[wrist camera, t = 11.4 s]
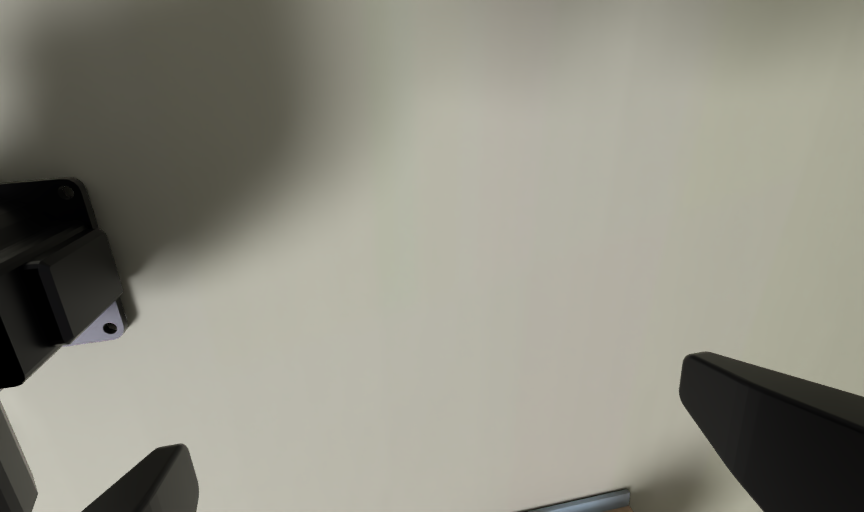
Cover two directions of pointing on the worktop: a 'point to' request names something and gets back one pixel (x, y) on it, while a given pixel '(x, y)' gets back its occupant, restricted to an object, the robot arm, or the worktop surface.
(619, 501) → the blueprint plinth
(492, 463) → the worktop surface
